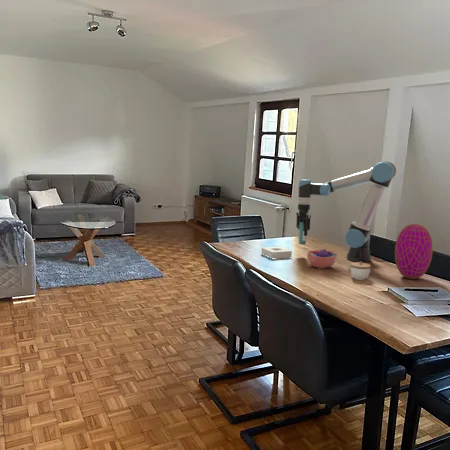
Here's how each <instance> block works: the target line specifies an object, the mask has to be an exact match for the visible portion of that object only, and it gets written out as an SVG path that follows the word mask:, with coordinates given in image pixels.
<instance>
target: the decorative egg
mask: <svg viewBox="0 0 450 450" xmlns="http://www.w3.org/2000/svg"><path fill="white" fill-rule="evenodd" d="M432 259H433V240H432V236H431V233H430V232H429V229H427V228H426V227H425V226H424V225H421V224H419V223H418V224H417V223H412V224H408V225H406V226H405V227H402V230H400V232H399V234H398V236H397V238H396V241H395V246H394V261H395V266H396V268H397V270H398V272H399V274H400V275H401V276H403V277H404V278H407V279H410V280H411V279H412V280H416V279H419V278H422V277H423V276H424V274H425V273H427V271H428V269H429V267H430V265H431V262H432Z"/></svg>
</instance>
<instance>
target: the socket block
mask: <svg viewBox="0 0 450 450" xmlns="http://www.w3.org/2000/svg"><path fill="white" fill-rule="evenodd" d="M261 253H262V254H264V255H267V256H269V257H271V258H284V259H291V258H292V253H293V251H292V250H290V249H287V248H285V247H282V246H269V247H261ZM262 254H261V255H262ZM264 255H263V256H264ZM290 257H291V258H290Z"/></svg>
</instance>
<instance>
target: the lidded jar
mask: <svg viewBox="0 0 450 450" xmlns="http://www.w3.org/2000/svg"><path fill="white" fill-rule="evenodd" d="M349 265H350V266H349V267H350V268H349V271H350V275H351V276H352V277H353V279H355V280H358V281H359V280H360V281H363V280H366V279H367V278H368V277H369V276H370V273H371V267H372V266H371V264H369V263H367V262H361V261H360V262H358V261H352V262H350V264H349Z"/></svg>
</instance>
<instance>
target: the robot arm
mask: <svg viewBox="0 0 450 450" xmlns="http://www.w3.org/2000/svg"><path fill="white" fill-rule="evenodd" d="M396 168H397V167H396V166H395V164H394V163H392V162H390V161H386V160H385V161H379V162H377V163H376V164H374V166H371V167H370V169H367V170H362V171H360V172H356V173H353V174H350V175H346V176H343V177H339V178H336V179H333V180H332V179H331V180H329V181H324V182H321V183H318V182H316V183H315V182H312V180H311V179H300V180H299V181H298V195H297V196H298V197H297V198H298V201H297V203H298V205H297V210H298V212H295V213H296V228H297V229H298V230H297V231H298V233H297V234H298V237H297V239H298V240H299V227H300V222H303V226H304V230H303V240H302V241H306V242H307V240H308V231H311V230H310V229H311V218H312V214H310V213H309V211H310V210H311V196H321V197H328V196H330V194H333V193H334V192H335V193H336V192H338V191H341V190H346V189H350V188H353V187H358V186H361V185H364V184H368V183H369V186H368V189H367V192H366V194H365V196H364V199H363V201H362V204H361V206H360V208H359V210H358V214H357V216H356V217H355V220H354V221H352V222H351V224H350V226H349V228H348V230H347V231H346V233H345V236H344V241H345V243H346V244H347V245H348V247H349V248H348V252H347V253H346V257H345V258H346V259H347V260H349V261H352V262H360V261H361V262H362V263H367V262H371V260H372V256H371V251H370V241H371V230H372V228H371V227H372V226H371V222H372V219H373V217H374V215H375V212H376V210H377V209H378V206H379V203H380V200H381V198H382V196H383V193H384V192H385V190H386V189H388V188H389V186H390V184H391V181H392V179H394V178H395V176H396V174H397V169H396Z"/></svg>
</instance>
